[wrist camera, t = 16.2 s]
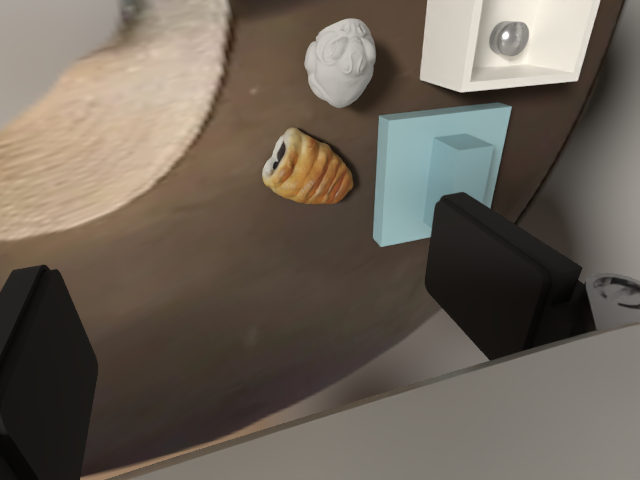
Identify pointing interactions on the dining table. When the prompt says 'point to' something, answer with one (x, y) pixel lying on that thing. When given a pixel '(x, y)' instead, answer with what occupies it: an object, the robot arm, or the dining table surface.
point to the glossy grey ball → (509, 38)
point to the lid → (434, 165)
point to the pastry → (306, 170)
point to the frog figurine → (341, 62)
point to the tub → (495, 69)
